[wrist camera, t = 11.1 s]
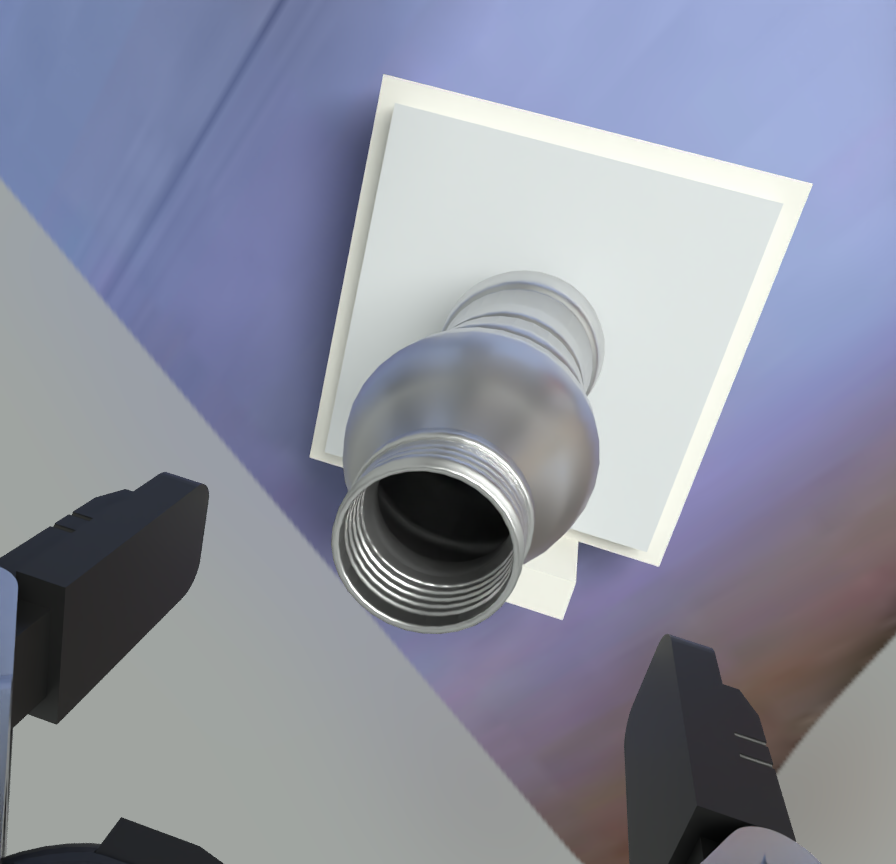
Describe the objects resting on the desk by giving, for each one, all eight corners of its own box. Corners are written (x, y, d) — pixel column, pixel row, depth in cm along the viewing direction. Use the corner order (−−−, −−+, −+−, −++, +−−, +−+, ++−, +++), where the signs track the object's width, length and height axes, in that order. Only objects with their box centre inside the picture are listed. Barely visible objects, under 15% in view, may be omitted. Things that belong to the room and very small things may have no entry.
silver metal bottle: (624, 382, 32) (657, 658, 14) (480, 428, 34) (337, 725, 16) (576, 239, 31) (538, 329, 12) (428, 296, 33) (200, 449, 14)
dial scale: (406, 85, 35) (354, 58, 27) (788, 184, 33) (844, 183, 26) (326, 478, 42) (267, 542, 35) (635, 576, 40) (643, 664, 33)
